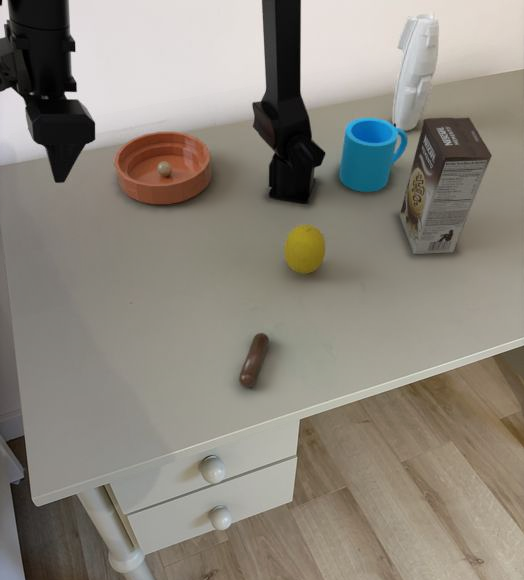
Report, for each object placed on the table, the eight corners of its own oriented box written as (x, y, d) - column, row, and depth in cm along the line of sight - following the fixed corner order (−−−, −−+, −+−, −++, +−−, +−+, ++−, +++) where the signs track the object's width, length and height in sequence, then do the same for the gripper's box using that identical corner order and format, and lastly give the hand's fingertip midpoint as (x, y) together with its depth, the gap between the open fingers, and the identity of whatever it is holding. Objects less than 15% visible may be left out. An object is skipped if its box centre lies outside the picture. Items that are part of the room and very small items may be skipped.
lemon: (326, 262, 76) (332, 218, 70) (316, 289, 73) (321, 245, 67) (290, 254, 77) (292, 209, 71) (278, 279, 74) (279, 235, 68)
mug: (358, 197, 85) (366, 151, 79) (329, 171, 90) (335, 126, 83) (416, 176, 89) (428, 130, 82) (386, 151, 93) (395, 106, 87)
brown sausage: (255, 338, 68) (255, 328, 66) (270, 341, 67) (271, 331, 66) (236, 388, 63) (236, 379, 61) (252, 392, 63) (252, 383, 61)
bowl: (223, 160, 91) (222, 139, 88) (192, 214, 83) (190, 193, 79) (142, 146, 94) (138, 125, 91) (104, 197, 85) (98, 176, 82)
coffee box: (397, 215, 83) (422, 116, 70) (437, 213, 83) (470, 114, 70) (412, 255, 77) (442, 156, 64) (455, 253, 77) (494, 154, 65)
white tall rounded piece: (377, 119, 100) (399, 138, 96) (396, 12, 86) (423, 30, 82) (406, 111, 102) (429, 130, 97) (430, 6, 87) (457, 23, 83)
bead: (174, 172, 88) (173, 159, 86) (169, 180, 87) (167, 168, 85) (161, 170, 89) (159, 157, 87) (156, 178, 87) (153, 165, 85)
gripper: (-62, -21, 55) (-35, 125, 66) (-36, 53, 45) (-9, 210, 56) (50, -9, 60) (58, 125, 71) (96, 59, 50) (97, 202, 61)
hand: (50, 161), depth 65 cm, fingers open, 9 cm apart
